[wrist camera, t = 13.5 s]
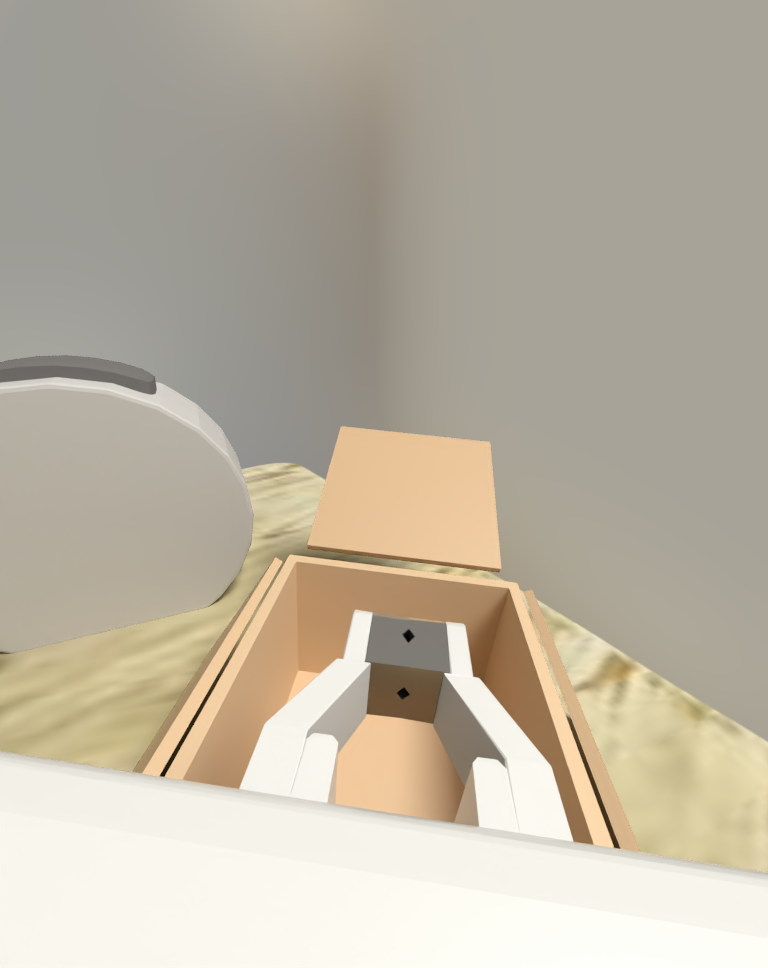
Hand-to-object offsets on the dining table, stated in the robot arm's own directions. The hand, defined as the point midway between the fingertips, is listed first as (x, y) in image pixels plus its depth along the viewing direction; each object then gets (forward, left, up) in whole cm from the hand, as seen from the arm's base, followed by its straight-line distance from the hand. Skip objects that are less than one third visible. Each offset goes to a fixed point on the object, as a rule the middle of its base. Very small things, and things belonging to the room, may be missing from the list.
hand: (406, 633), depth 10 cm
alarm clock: (-27, -6, -16) cm, 32 cm away
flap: (-8, +8, -6) cm, 12 cm away
